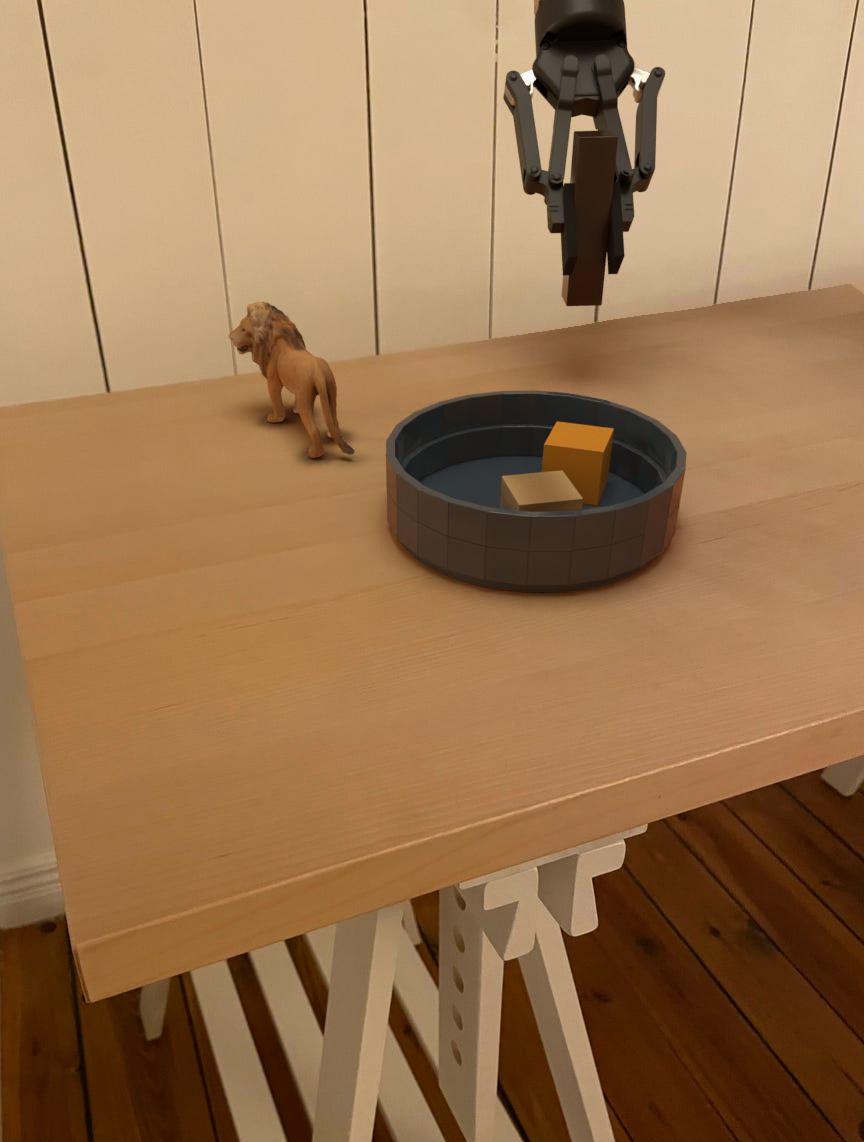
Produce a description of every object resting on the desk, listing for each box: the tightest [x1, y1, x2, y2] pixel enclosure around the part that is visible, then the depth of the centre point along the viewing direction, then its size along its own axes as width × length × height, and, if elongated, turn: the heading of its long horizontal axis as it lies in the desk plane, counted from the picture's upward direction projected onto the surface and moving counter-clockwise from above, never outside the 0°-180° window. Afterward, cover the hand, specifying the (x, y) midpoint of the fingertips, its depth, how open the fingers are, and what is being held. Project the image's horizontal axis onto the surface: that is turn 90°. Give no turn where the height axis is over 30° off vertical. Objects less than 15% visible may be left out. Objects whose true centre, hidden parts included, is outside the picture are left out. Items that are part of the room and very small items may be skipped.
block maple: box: [500, 470, 583, 512], centre depth 63 cm, size 4×4×4 cm
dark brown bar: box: [561, 130, 618, 307], centre depth 83 cm, size 3×3×13 cm
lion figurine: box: [228, 301, 356, 459], centre depth 79 cm, size 15×5×9 cm, turn 36°
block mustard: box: [542, 422, 614, 506], centre depth 69 cm, size 4×4×4 cm
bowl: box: [385, 389, 687, 593], centre depth 67 cm, size 19×19×6 cm
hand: (593, 265), depth 81 cm, fingers closed on dark brown bar, 3 cm apart
